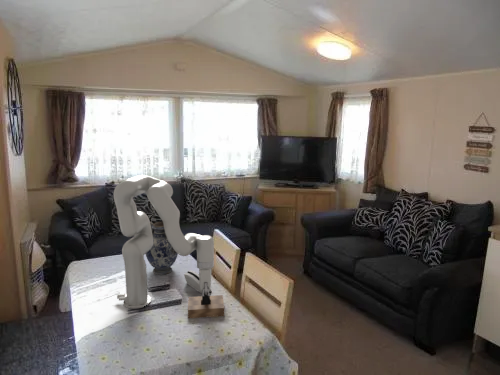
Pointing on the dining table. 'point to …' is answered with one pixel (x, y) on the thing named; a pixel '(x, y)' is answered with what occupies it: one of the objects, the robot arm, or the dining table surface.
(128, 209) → the robot arm
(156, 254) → the decorative vase
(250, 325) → the dining table surface
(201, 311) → the block with square hole
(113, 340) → the dining table surface
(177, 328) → the dining table surface
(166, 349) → the dining table surface
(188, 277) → the grey half-round piece
